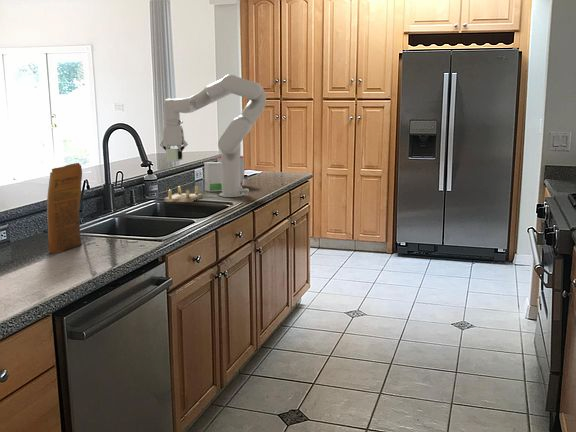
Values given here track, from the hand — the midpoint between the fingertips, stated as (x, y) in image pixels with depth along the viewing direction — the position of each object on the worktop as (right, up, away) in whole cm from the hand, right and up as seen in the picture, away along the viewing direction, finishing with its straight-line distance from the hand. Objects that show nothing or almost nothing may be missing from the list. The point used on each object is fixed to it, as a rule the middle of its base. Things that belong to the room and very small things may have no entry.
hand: (174, 158), depth 319 cm
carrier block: (0, -1, 0) cm, 1 cm away
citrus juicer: (+26, -12, +38) cm, 48 cm away
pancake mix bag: (-16, -40, -111) cm, 119 cm away
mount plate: (+6, -21, -9) cm, 23 cm away
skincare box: (+18, -16, +19) cm, 31 cm away
